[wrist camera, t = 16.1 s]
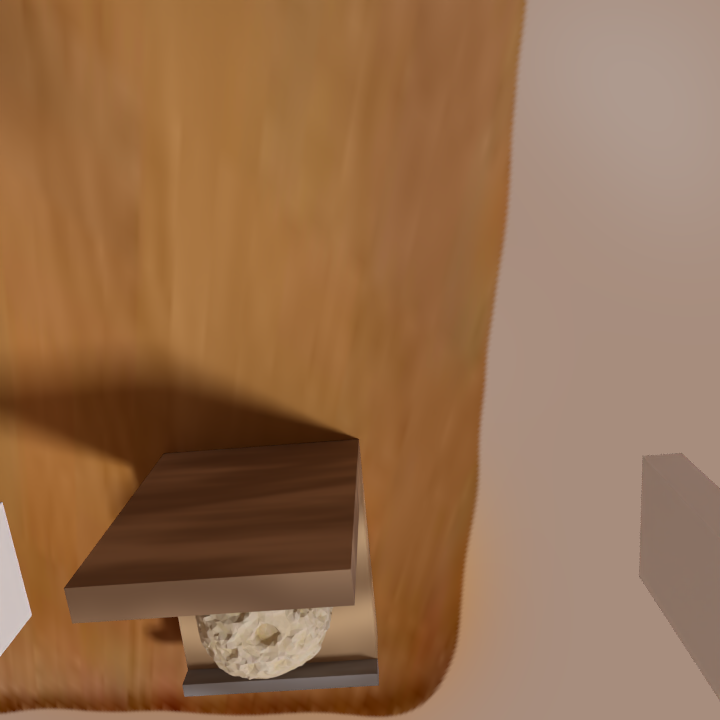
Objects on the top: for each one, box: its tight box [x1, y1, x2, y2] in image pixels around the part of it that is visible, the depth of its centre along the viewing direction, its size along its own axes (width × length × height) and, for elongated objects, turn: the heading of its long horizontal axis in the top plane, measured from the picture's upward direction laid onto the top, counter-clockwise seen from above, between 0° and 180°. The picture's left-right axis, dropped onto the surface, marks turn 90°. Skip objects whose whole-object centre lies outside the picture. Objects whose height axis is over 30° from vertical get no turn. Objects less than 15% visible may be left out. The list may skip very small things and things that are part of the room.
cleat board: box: [64, 439, 379, 696], centre depth 42 cm, size 17×14×16 cm
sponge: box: [195, 607, 333, 680], centre depth 44 cm, size 9×10×10 cm
